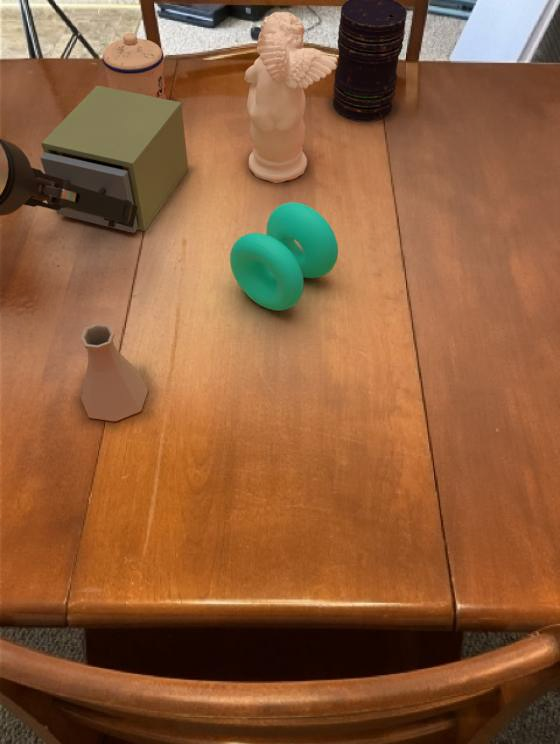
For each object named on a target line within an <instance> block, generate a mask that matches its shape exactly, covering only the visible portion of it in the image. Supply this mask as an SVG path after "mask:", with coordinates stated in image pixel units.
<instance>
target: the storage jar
mask: <svg viewBox="0 0 560 744" xmlns="http://www.w3.org/2000/svg"><path fill="white" fill-rule="evenodd" d="M407 16H408V10H407V8H406V7H405V6H404V5H403V4H402V3H400V2H399V1H397V0H346V1H345V2H344V3H343V4H342V5H341V7H340V18H339V25H338V34H337V35H338V38H337V48H338V58H337V66H336V69H335V71H334V72H335V73H334V80H333V99H332V107H333V110H334V111H335V113H337V114H338V115H339V116H341V117H343V118H344V119H347V120H350V121H354V122H360V123H371V122H376V121H381V120H383V119H385V118H387V117H388V116H389V115H390V114H391V113H392V111H393V102H394V97H395V95H396V90H397V85H398V84H397V83H398V73H397V70H398V62H399V58H400V57H399V56H400V55H401V54H402V50H403V43H404V39H405V35H406V21H407Z"/></svg>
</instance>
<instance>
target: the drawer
mask: <svg viewBox="0 0 560 744" xmlns="http://www.w3.org/2000/svg"><path fill="white" fill-rule="evenodd" d="M40 162H41V165H42V167H43V173H44V174H47V175H50V176H54V177H57V178H61V179H63V180H64V181H68V182H70V184H73V185H76V186H79V187H82V188H85V189H88V190H92V191H95V192H98V193H102V194H105V195H108V196H112V197H115V198H118V199H121V200H129V201H130V202H132V205H135V201H134V196H133V191H132V185H131V180H130V174H129V169H128V167H124V166H120V165H115V164H111V163H106V162H102V161H98V160H93V159H89V158H84V157H80V156H75V155H71V154H67V153H62V152H58V151H57V155H54V154H50V153H46V152H45V153H44V152H43V154H41V156H40ZM48 181H49V180H48ZM50 183H51V185H52V187H54V183H53V182H52V181H50ZM51 200H52V196H50V197H49V199H48V200H46V203H48V204H49V203H51ZM55 211H56V215H59V216H63V217H67V218H71V219H74V220H79V221H84V222H88V223H92V224H96V225H99V226H104V227H107V228H112V229H116V230H120V231H124V232H128V233H131V234H132V233H133V234H135V233H136V232H137V231H138V230H137V228H138V224H137V219H136V218H137V212H136V216H135V221H134V226H133V228H132V227H128V226H124V225H121V224H117V223H116V227H115V228H114V227H110V226H108V223H109V221H107V220H104V218H101V217H97V216H94V215H90V214H86V213H82V212H78V211H75V210H71V209H67V208H61V209H60V210H55Z"/></svg>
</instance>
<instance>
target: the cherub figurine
mask: <svg viewBox="0 0 560 744" xmlns="http://www.w3.org/2000/svg"><path fill="white" fill-rule="evenodd" d="M263 19H264V20H263V21H262V22H261V24H260V31H259V34H258V39H257V43H256V46H257V47H256V53H257V54H258V55H259V56H258V58H256V59H255V60H254V63H253V64H252V65H251V66H249V67H248V68H247V69H246V70H245V74H244V82H246V83H249V89H248V95H247V102H246V110H247V115H248V117H249V120H250V125H249V135H250V140H251V143H252V145H253V148H252V152H251V153H250V155H249V157H248V168H249V169H250V171H251V172H252V174H253V175H254V176H255V177H256V178H258V179H260V180H261V179H262V180H263V181H268V182H270V183H275V184H277V183H278V184H280V183H285V182H286V181H293V180H294V179H297V178H299V176H302V175H304V174H305V170H306V168H307V165H308V158H307V155H306V154H305V153H304V151H303V147H302V146H303V143H304V140H305V137H306V124H305V119H304V115H305V113H306V112H305V111H306V108H307V107H306V106H307V100H306V93H305V89H308V88H309V86H312V85H314V82H315V83H318V82H320V81H321V79H325V78H326V77H327V76H328V75H331V74H332V71H334V70H335V71H336V69H337V67H338V64H337V63H338V58H337V56H332V55H328V53H325V52H323V51H322V50H320V49H317V48H314V47H304V46H305V45H304V35H305V33H306V29H305V25H304V23H303V21H301V19H298V17H297V16H296V15H294V14H293V13H292V12H289V11H275V12H273V13H271V14H270V15H268V16H265V17H264V18H263Z"/></svg>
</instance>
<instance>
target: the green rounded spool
mask: <svg viewBox="0 0 560 744" xmlns="http://www.w3.org/2000/svg"><path fill="white" fill-rule="evenodd" d="M298 244H299V245H298ZM338 256H339V245H338V240H337V237H336V235H335V232H334V229H333V228H332V227H331V225H330V224H329V222H328V221H327V219H326V218H325V217H324V216H322V215H321V214H320V212H318V211H317V210H316V209H314V208H312V207H310V206H309V205H306V204H304V203H299V202H294V201H293V202H285V203H283V204H280V205H278V206H277V207H276V208H274V209H273V211H272V212H271V213H270V215H269V217H268V219H267V223H266V233H262V232H261V233H260V232H250V233H246V234H244V235H241V236H240V237H239V238H238V239H236V241H235V242H234V243H233V244H232V247H231V250H230V255H229V257H230V258H229V262H230V269H231V272H232V275H233V276H234V279H235V281H236V283H237V284H238V286H239V287H240V288H241V290H242V291H243V292H244V293H245V295H247V296H248V297H249V298H250V299H251V300H252V301H253V302H254V303H256V304H258V305H259V306H261V307H263V308H266V309H269V310H272V311H285V310H288V309H291V308H293V307H294V306H295V305H297V304H298V302H299V301H300V300H301V298H302V295H303V292H304V286H305V285H304V284H305V283H304V278H306V279H317V278H321V277H324V276H325V275H327V274H329V273H330V272H331V271H332V270H333V268H334V267H335V265H336V263H337V261H338Z"/></svg>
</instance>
